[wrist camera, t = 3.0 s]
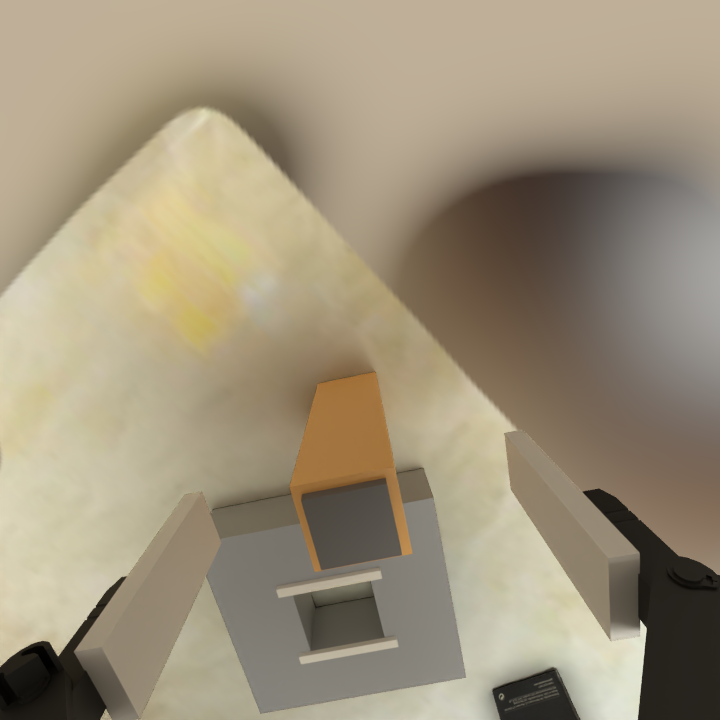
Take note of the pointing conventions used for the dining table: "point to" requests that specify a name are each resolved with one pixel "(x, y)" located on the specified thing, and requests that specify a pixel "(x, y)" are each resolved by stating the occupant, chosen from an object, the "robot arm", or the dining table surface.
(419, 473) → the socket
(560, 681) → the small box
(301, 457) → the plug
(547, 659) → the dining table surface
